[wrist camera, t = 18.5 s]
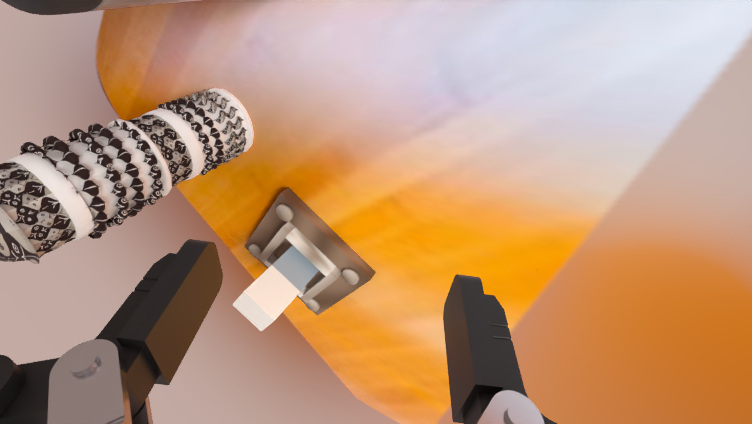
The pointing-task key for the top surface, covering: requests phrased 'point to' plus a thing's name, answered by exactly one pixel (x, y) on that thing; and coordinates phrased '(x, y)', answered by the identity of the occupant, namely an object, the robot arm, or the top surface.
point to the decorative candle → (113, 171)
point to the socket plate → (309, 251)
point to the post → (275, 288)
